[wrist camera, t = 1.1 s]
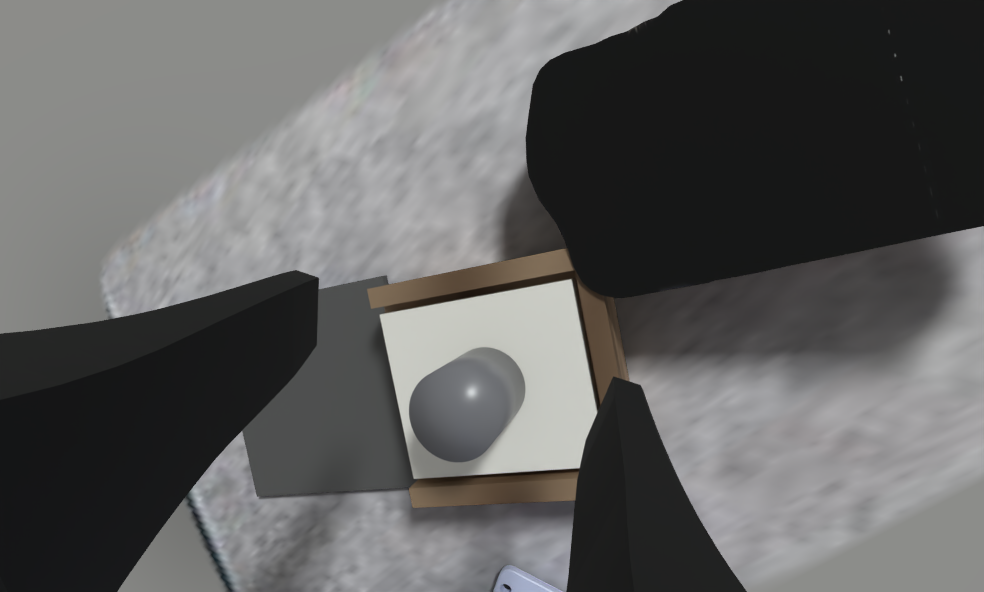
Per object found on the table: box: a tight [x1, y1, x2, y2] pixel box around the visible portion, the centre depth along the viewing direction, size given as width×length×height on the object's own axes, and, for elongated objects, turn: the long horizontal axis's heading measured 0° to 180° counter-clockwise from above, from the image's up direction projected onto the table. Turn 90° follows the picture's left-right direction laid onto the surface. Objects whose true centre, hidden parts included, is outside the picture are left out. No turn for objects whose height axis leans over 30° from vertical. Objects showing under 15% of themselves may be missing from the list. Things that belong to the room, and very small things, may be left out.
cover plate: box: [380, 278, 600, 479], centre depth 18 cm, size 8×7×4 cm
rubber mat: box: [242, 276, 418, 497], centre depth 26 cm, size 10×10×1 cm
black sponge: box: [526, 0, 984, 298], centre depth 15 cm, size 16×8×4 cm, turn 104°
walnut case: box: [367, 248, 630, 508], centre depth 21 cm, size 9×9×4 cm
